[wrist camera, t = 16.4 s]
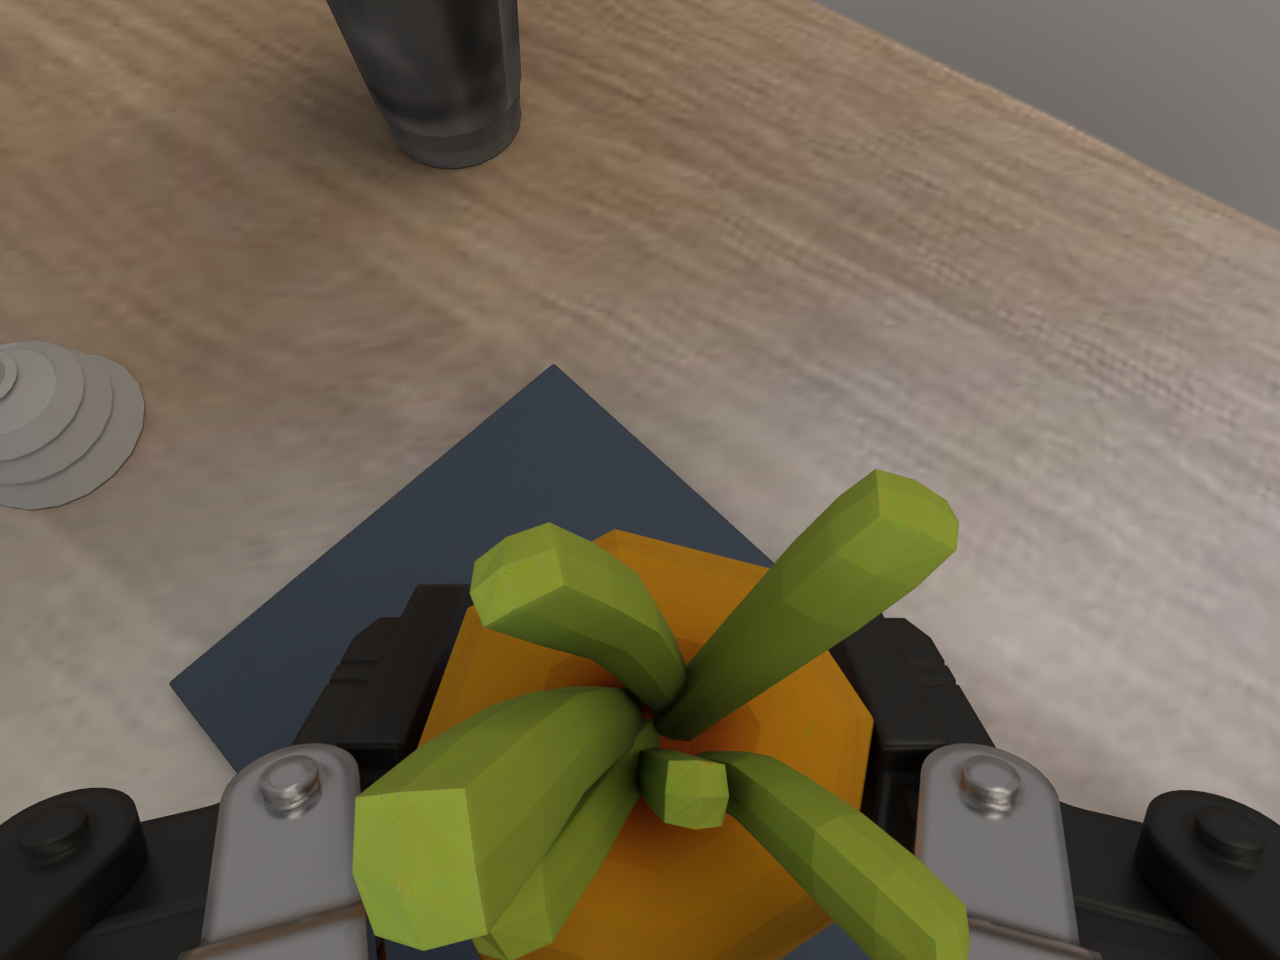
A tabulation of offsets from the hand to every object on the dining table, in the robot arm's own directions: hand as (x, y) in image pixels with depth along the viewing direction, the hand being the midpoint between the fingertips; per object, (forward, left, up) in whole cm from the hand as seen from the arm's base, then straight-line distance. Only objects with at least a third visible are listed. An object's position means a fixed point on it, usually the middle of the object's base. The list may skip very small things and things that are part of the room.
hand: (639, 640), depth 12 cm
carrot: (+1, -1, -7) cm, 8 cm away
